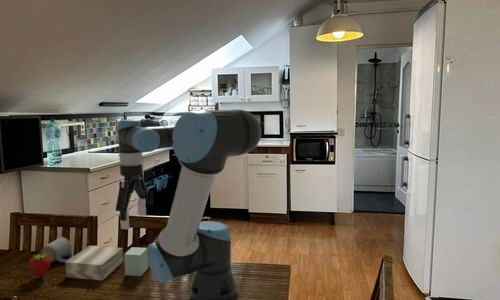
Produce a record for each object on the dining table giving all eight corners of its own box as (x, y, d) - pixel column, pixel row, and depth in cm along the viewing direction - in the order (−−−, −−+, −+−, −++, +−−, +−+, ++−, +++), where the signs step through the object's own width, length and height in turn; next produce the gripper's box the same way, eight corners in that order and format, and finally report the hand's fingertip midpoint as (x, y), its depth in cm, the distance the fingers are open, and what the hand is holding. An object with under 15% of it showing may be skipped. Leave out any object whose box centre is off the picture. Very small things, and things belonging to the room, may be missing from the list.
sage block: (148, 268, 128) (147, 247, 127) (141, 276, 122) (140, 255, 121) (133, 267, 128) (131, 247, 127) (125, 275, 123) (124, 254, 121)
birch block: (123, 262, 133) (122, 248, 132) (102, 281, 119) (101, 265, 118) (90, 259, 135) (89, 245, 134) (66, 277, 121) (65, 262, 120)
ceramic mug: (40, 262, 132) (39, 243, 131) (57, 253, 140) (56, 235, 139) (62, 266, 129) (61, 247, 128) (79, 257, 137) (77, 239, 136)
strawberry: (40, 271, 125) (37, 246, 123) (56, 274, 123) (54, 248, 121) (25, 280, 119) (22, 253, 118) (42, 283, 117) (40, 255, 116)
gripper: (136, 157, 132) (139, 210, 135) (101, 171, 107) (105, 234, 111) (155, 157, 131) (157, 210, 134) (124, 171, 107) (127, 235, 110)
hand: (134, 221), depth 122 cm, fingers open, 13 cm apart
